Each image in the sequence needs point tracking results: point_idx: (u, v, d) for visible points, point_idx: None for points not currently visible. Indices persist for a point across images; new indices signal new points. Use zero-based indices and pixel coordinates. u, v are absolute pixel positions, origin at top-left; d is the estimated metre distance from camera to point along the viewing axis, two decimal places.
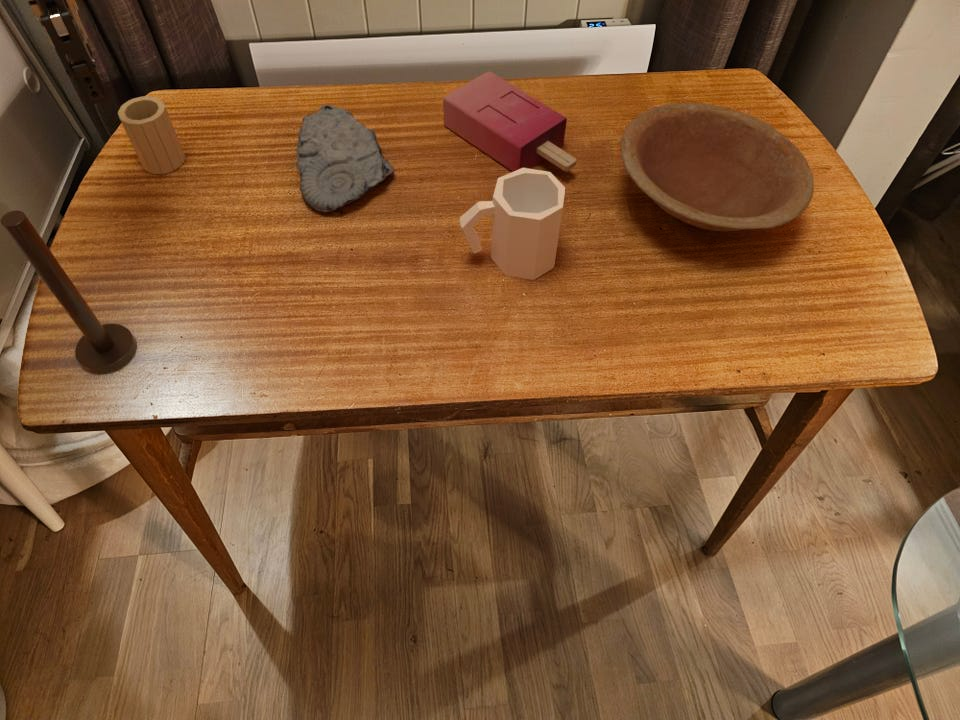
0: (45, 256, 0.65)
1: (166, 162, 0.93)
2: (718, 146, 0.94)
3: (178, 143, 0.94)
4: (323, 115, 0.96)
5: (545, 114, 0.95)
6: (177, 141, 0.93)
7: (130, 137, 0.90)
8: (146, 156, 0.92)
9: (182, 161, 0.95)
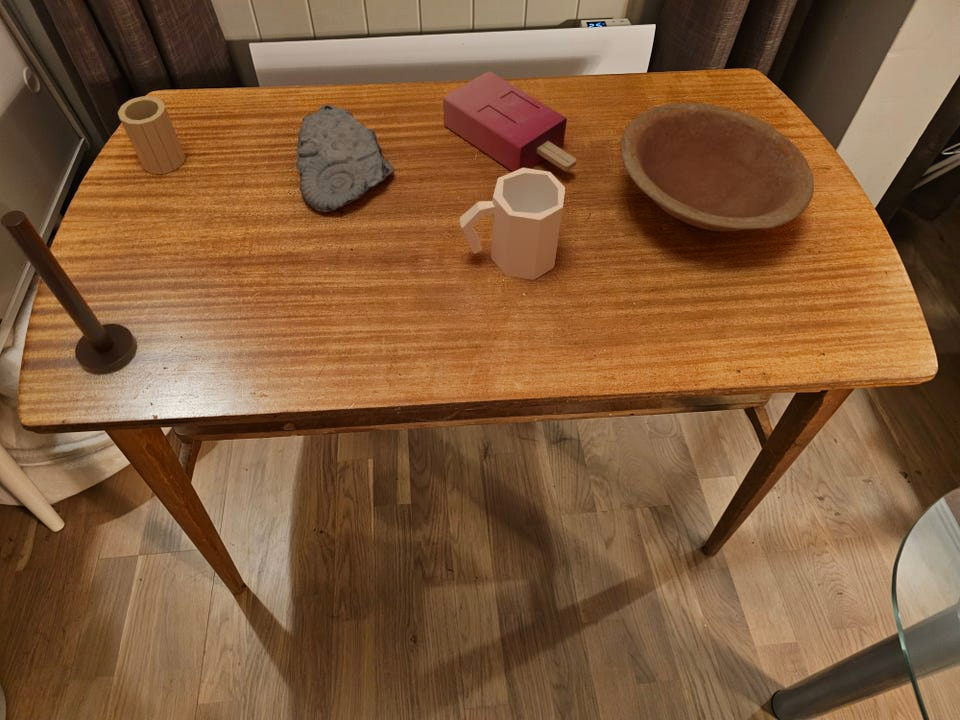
0: (45, 256, 0.65)
1: (166, 162, 0.93)
2: (718, 146, 0.94)
3: (178, 143, 0.94)
4: (323, 115, 0.96)
5: (545, 114, 0.95)
6: (177, 141, 0.93)
7: (130, 137, 0.90)
8: (146, 156, 0.92)
9: (182, 161, 0.95)
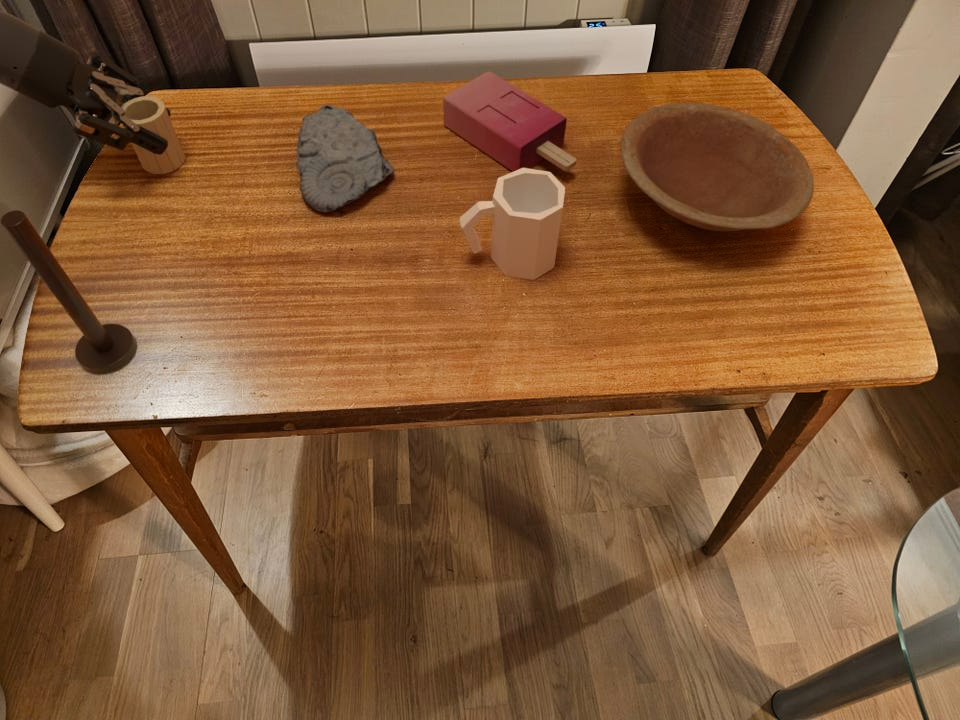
0: (45, 256, 0.65)
1: (166, 162, 0.93)
2: (718, 146, 0.94)
3: (178, 143, 0.94)
4: (323, 115, 0.96)
5: (545, 114, 0.95)
6: (177, 141, 0.93)
7: None
8: (146, 156, 0.92)
9: (182, 161, 0.95)
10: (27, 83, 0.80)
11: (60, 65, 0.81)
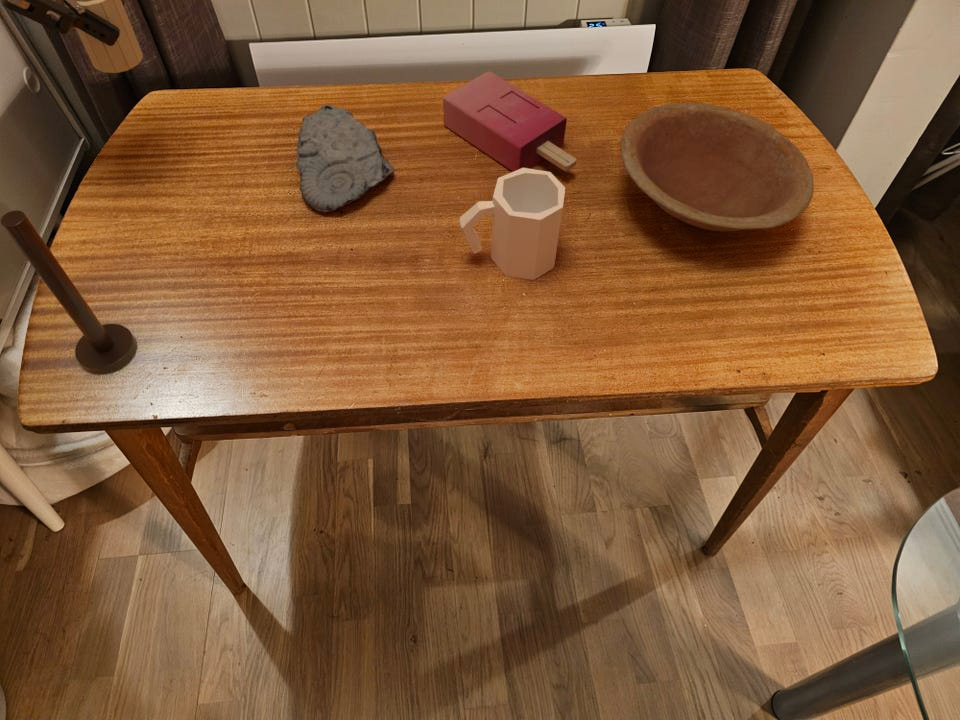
0: (45, 256, 0.65)
1: (120, 57, 0.81)
2: (718, 146, 0.94)
3: (133, 37, 0.81)
4: (323, 115, 0.96)
5: (545, 114, 0.95)
6: (132, 34, 0.81)
7: None
8: (95, 49, 0.79)
9: (139, 59, 0.83)
10: None
11: None
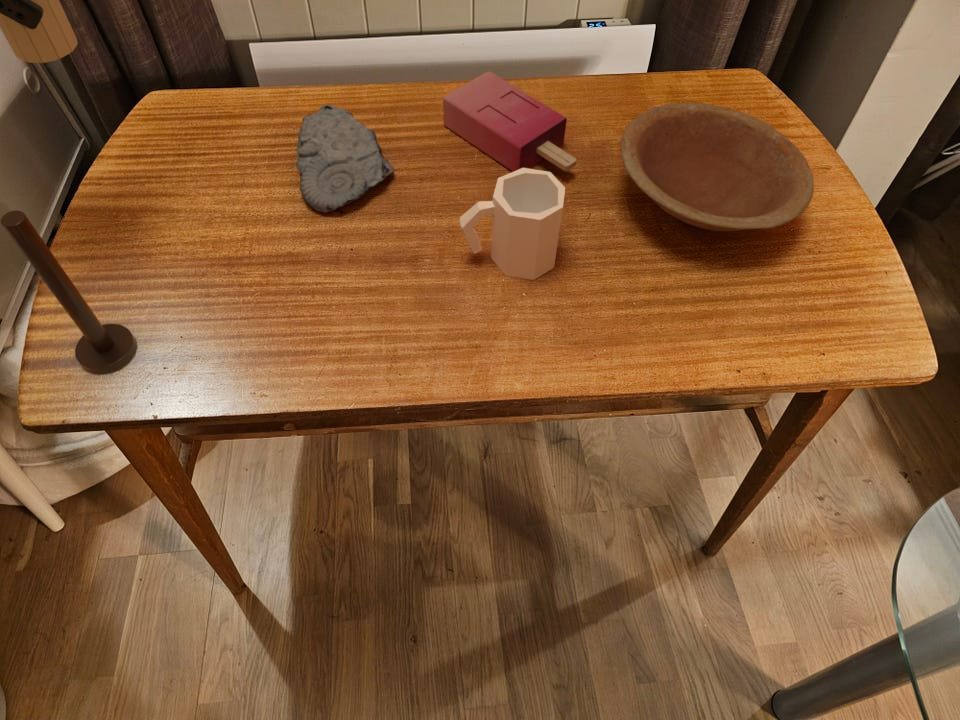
0: (45, 256, 0.65)
1: (46, 44, 0.66)
2: (718, 146, 0.94)
3: (64, 19, 0.66)
4: (323, 115, 0.96)
5: (545, 114, 0.95)
6: (62, 15, 0.66)
7: None
8: (15, 33, 0.64)
9: (72, 47, 0.68)
10: None
11: None
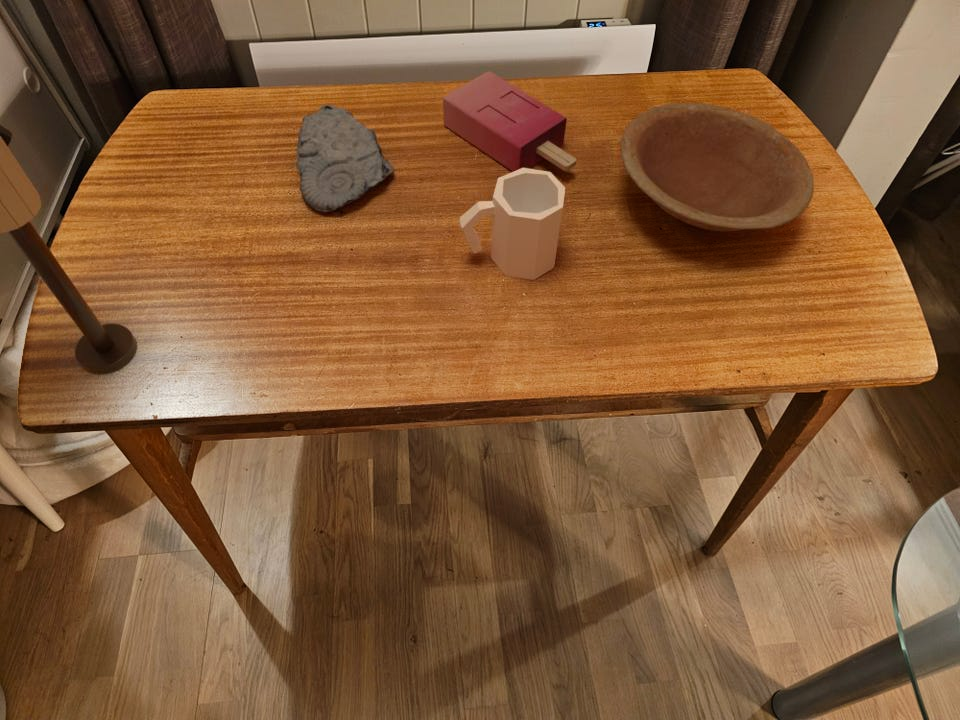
0: (45, 256, 0.65)
1: (4, 215, 0.58)
2: (718, 146, 0.94)
3: (24, 184, 0.59)
4: (323, 115, 0.96)
5: (545, 114, 0.95)
6: (21, 181, 0.58)
7: None
8: None
9: (34, 212, 0.60)
10: None
11: None
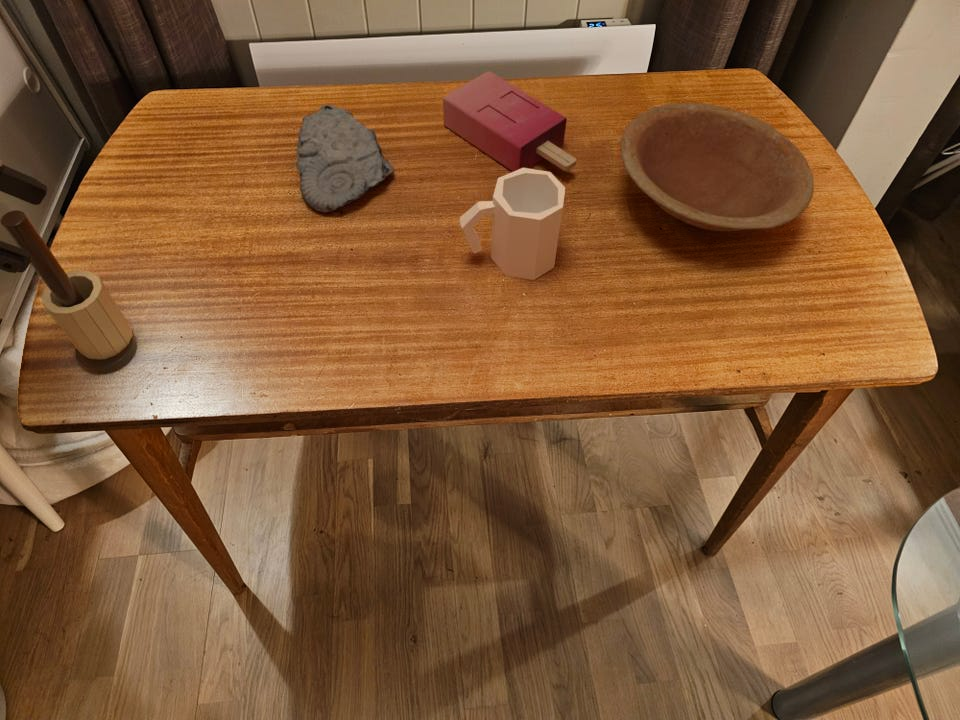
0: (45, 256, 0.65)
1: (107, 347, 0.75)
2: (718, 146, 0.94)
3: (121, 322, 0.75)
4: (323, 115, 0.96)
5: (545, 114, 0.95)
6: (120, 320, 0.75)
7: (58, 324, 0.72)
8: (80, 343, 0.73)
9: (128, 341, 0.77)
10: None
11: None
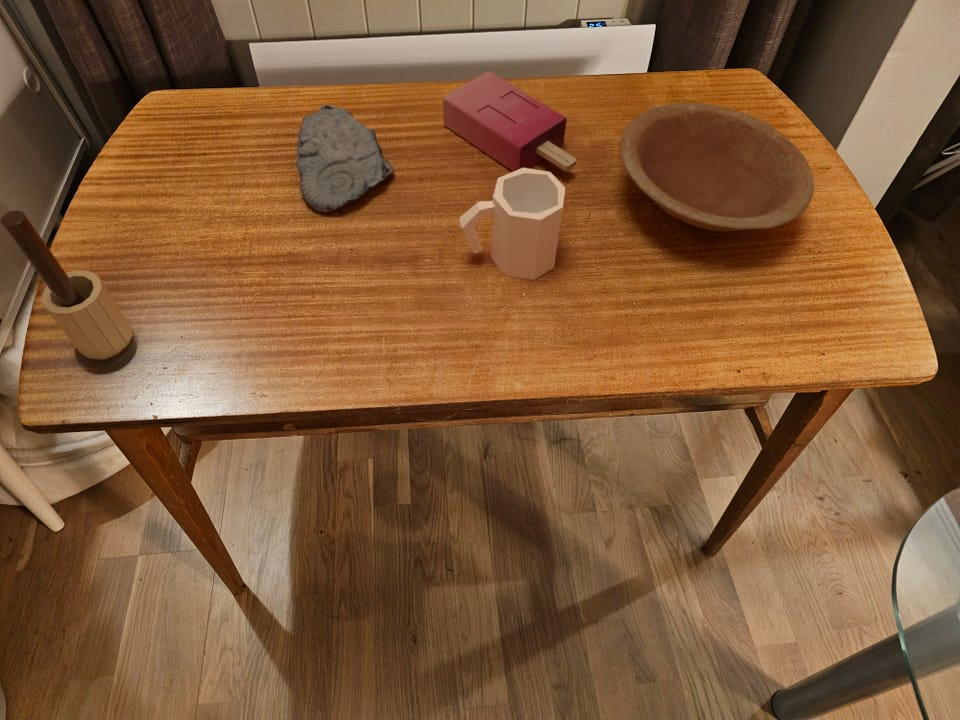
0: (45, 256, 0.65)
1: (107, 347, 0.75)
2: (718, 146, 0.94)
3: (121, 322, 0.75)
4: (323, 115, 0.96)
5: (545, 114, 0.95)
6: (120, 320, 0.75)
7: (58, 324, 0.72)
8: (80, 343, 0.73)
9: (128, 341, 0.77)
10: None
11: None
